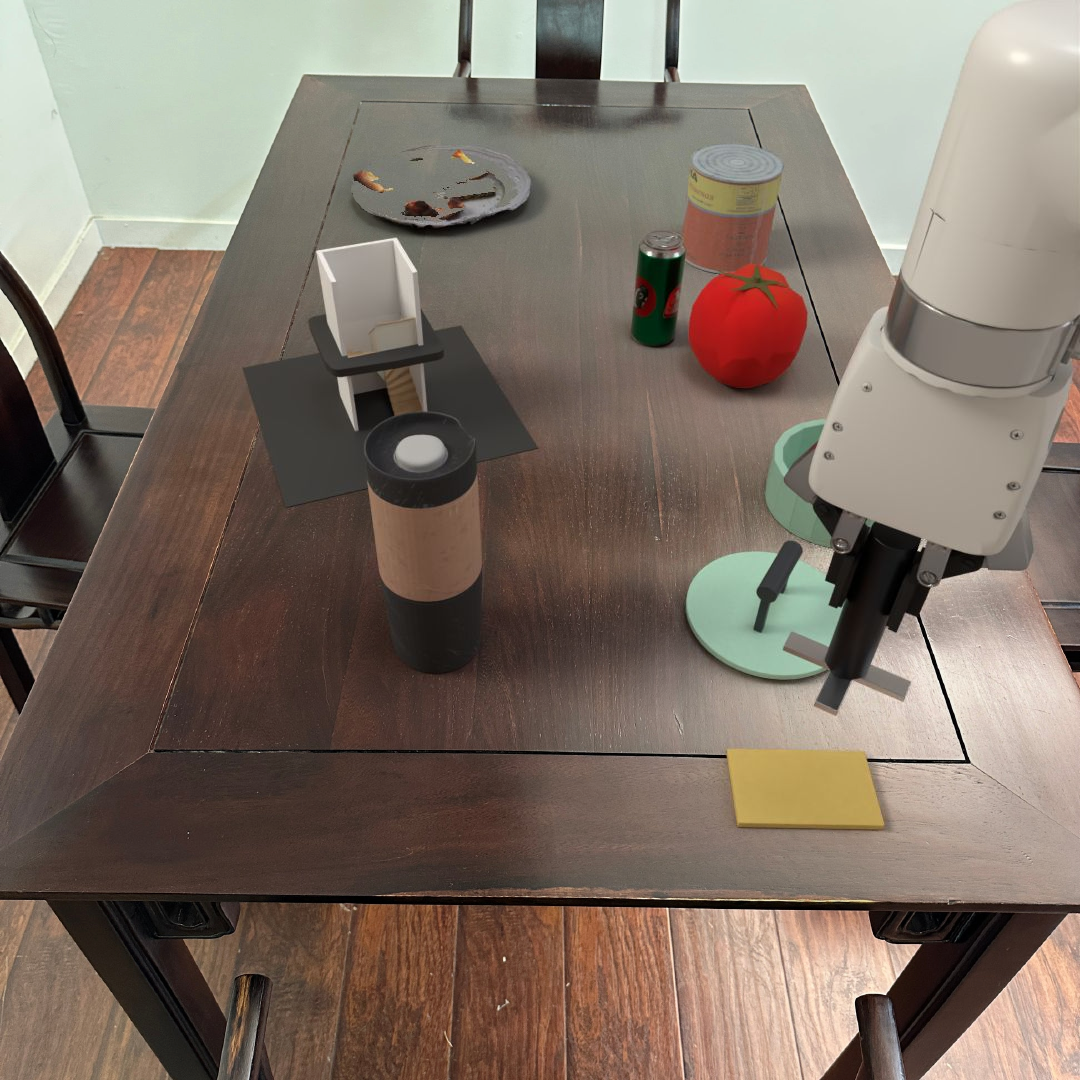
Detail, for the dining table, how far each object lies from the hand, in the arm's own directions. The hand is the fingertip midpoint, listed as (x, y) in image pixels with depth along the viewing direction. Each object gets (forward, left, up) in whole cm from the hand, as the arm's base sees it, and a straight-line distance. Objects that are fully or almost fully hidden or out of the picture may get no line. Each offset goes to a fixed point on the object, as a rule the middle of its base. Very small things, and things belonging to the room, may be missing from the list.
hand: (870, 601), depth 55 cm
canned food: (+36, -71, -20) cm, 82 cm away
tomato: (+24, -47, -20) cm, 56 cm away
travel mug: (+30, +2, -20) cm, 36 cm away
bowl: (+8, -31, -19) cm, 37 cm away
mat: (0, 0, -19) cm, 19 cm away
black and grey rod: (0, 0, -6) cm, 6 cm away
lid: (+8, -14, -19) cm, 25 cm away
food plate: (+76, -65, -20) cm, 102 cm away
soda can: (+35, -48, -20) cm, 62 cm away
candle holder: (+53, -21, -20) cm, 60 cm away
